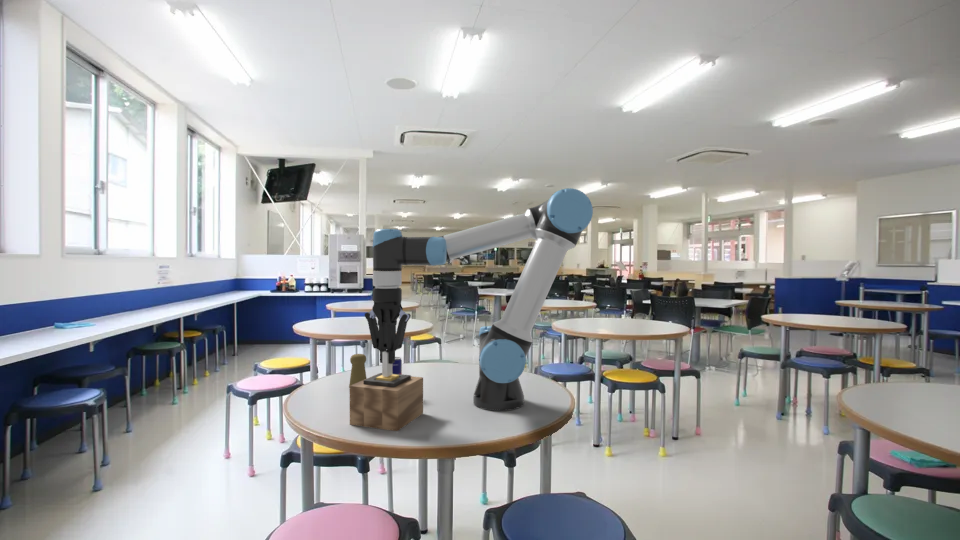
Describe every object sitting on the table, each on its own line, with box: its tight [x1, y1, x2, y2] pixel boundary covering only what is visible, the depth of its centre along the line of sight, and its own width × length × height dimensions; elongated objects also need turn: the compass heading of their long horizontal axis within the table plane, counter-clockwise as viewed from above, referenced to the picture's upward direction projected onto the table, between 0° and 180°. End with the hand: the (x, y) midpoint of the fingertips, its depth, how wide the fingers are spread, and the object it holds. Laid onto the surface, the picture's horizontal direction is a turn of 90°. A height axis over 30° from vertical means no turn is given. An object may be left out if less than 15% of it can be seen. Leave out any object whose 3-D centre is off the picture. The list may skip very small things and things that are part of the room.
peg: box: [376, 374, 399, 381], centre depth 118 cm, size 4×4×9 cm
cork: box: [348, 353, 368, 389], centre depth 149 cm, size 6×6×11 cm
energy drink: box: [392, 356, 403, 374], centre depth 138 cm, size 5×5×12 cm
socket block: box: [349, 372, 424, 432], centre depth 118 cm, size 14×14×11 cm
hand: (387, 375), depth 118 cm, fingers closed
